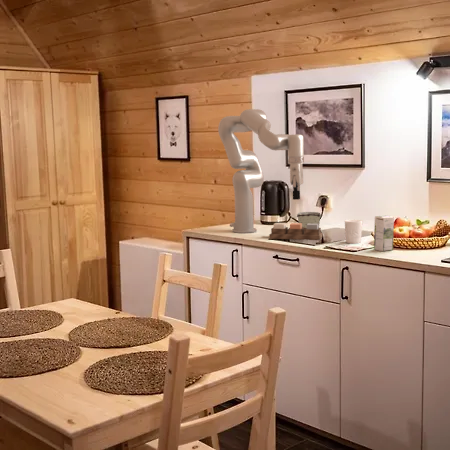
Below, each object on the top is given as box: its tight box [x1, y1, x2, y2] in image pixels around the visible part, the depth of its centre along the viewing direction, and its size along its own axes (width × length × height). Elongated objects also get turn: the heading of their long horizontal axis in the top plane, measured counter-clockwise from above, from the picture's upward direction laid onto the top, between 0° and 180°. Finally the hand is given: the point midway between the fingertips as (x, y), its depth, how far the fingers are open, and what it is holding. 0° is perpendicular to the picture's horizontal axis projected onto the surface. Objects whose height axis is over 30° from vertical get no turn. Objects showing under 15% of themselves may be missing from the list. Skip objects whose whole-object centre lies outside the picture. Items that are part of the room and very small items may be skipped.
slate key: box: [307, 223, 320, 229], centre depth 328 cm, size 5×5×3 cm
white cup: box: [344, 219, 363, 244], centre depth 313 cm, size 8×8×10 cm
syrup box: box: [373, 215, 395, 252], centre depth 291 cm, size 6×6×14 cm
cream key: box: [273, 222, 287, 229], centre depth 333 cm, size 5×5×3 cm
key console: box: [268, 226, 323, 241], centre depth 331 cm, size 24×10×5 cm, turn 74°
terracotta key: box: [289, 222, 302, 229], centre depth 330 cm, size 5×5×3 cm
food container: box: [296, 211, 322, 229], centre depth 349 cm, size 12×6×10 cm, turn 84°
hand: (296, 199), depth 328 cm, fingers closed
